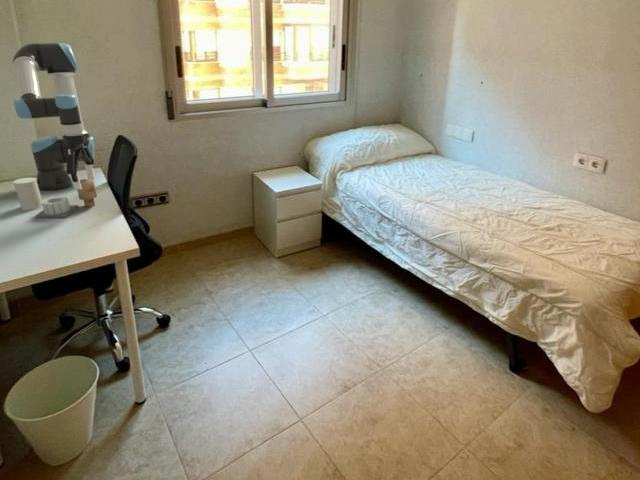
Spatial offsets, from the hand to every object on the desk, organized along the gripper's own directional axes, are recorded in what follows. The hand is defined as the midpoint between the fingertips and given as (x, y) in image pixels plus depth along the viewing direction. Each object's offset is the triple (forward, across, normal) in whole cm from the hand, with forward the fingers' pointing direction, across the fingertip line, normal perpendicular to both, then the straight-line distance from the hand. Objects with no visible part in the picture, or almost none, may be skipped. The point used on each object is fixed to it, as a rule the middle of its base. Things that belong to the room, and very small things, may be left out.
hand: (85, 184), depth 188 cm
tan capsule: (+10, 0, 0) cm, 10 cm away
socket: (+10, +8, -10) cm, 16 cm away
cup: (+10, 0, -24) cm, 26 cm away
